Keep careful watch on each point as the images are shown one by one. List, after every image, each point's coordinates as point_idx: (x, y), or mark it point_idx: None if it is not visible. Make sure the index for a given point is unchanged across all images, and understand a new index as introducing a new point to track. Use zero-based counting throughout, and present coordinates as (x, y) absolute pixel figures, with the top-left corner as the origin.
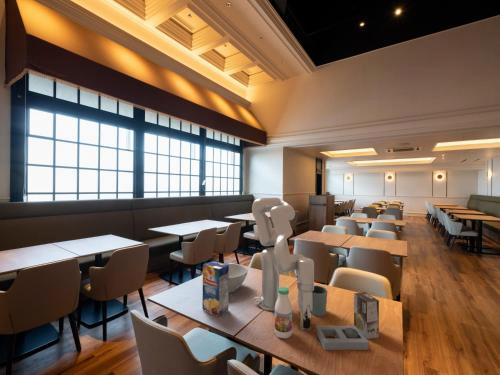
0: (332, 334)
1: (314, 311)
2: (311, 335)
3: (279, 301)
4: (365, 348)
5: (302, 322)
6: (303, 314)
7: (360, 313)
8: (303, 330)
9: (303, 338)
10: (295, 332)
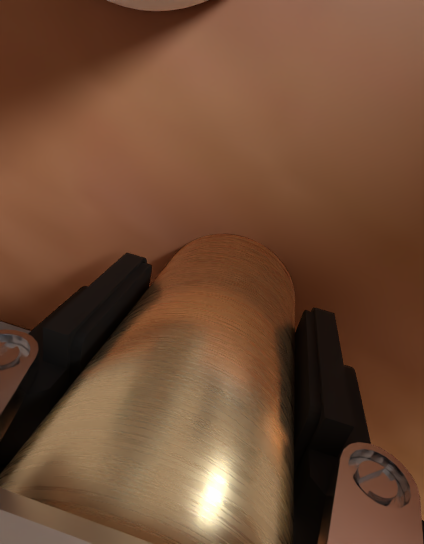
0: None
1: None
2: (76, 287)
3: None
4: None
5: (159, 291)
6: (36, 429)
7: None
8: (182, 248)
9: (22, 160)
10: (158, 103)
